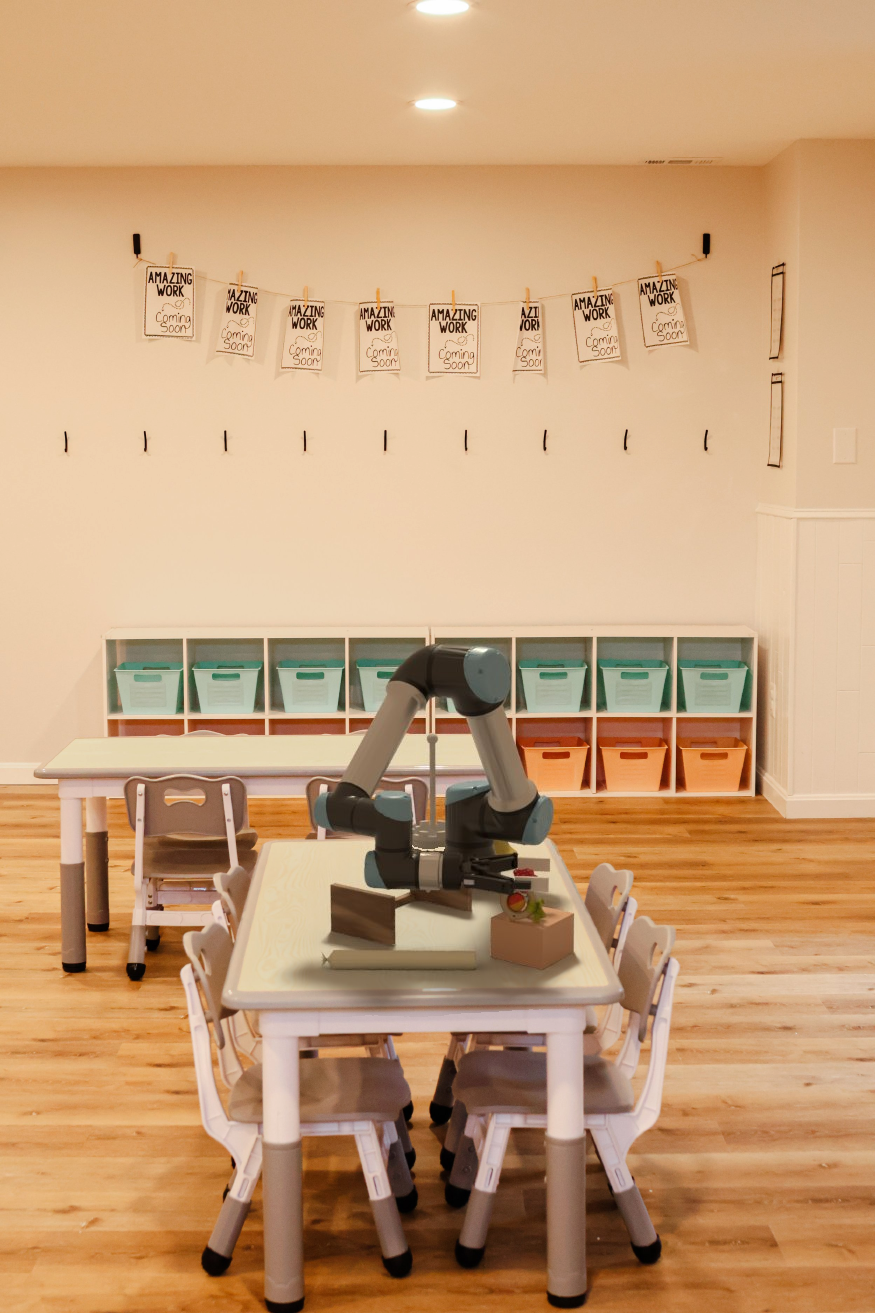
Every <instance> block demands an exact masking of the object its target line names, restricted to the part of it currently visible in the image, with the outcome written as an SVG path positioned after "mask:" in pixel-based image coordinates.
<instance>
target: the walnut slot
mask: <svg viewBox="0 0 875 1313" xmlns="http://www.w3.org/2000/svg"><path fill="white" fill-rule="evenodd" d="M329 886H330V931H331V932H334V933H338V934H343V935H347V936H350V937H354V938H358V939H362V940H364V941H365V940H367V941H370V942H374V943H377V944H382V945H386V946H390V947H391V946H394V945H396V908H398V907H400V906H403V905H405V904H407V903H410V902H412V901H415V900H417V901H422V902H426V903H430V904H434V905H439V906H443V907H448V908H453V909H457V910H461V911H465V912H469V911H471V910H473V909H472V908H473V906H472V905H473V903H472V900H473V898H472V897H473V896H472V894H473V892H472V890H473V889H472V888H464V882H463V884H462V889H461V890H460V891H445V890H443V887H441V889H440V890H431V891H430V892H426V890H414V889H409V891H408V892H406V893H404V894H401V895H399V896H395V895H391V894H387V893H381V892H376V891H372V890H368V889H364V888H359V887H355V886H351V885H346V884H341V883H337V882H334V883H331V884H330V885H329Z"/></svg>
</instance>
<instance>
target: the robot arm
mask: <svg viewBox="0 0 875 1313" xmlns="http://www.w3.org/2000/svg"><path fill="white" fill-rule="evenodd" d="M511 677H512V670H511V667H510V663H509V662H508V659H507V658H506V656H505V655H504V653H502V652H501V651H499V650H498V649H496V648H493V647H488V646H487V647H486V646H485V645H475V646H472V645H461V644H460V645H459V644H458V645H457V644H446V643H432V644H428V645H425V646H423V647H421V648H419V649H418V650H416V651H415V652H412V653H411V655H409V656H408V657H407V658H406V659H405V660H404V661H403V662H402V663H401V664H400V665H399V666H398V667H397V668H396V669H395V671H394V672H393V673H392V675H391V677H390V678H389V681H387V684H386V686H385V691H386V696H385V697H384V698H383V700H382V703H381V705H380V707H379V708H378V710H377V712H376V714H375V716H374V717H373V720H372V721H371V724H370V725H369V726H368V728H367V731H366V732H365V734H364V736H363V737H362V740H361V741H360V743H359V745H358V747H357V749H356V751H355V752H354V754H353V756H352V758H351V759H350V762H349V764H348V765H347V768H346V770H344V773H343V775H342V776H341V778H340V780H339V781H338V784H337V786H336V787H335V789H334V790H333V791H328V792H327V791H325V792H322V793H321V794H320V795H318V796H317V798H316V799H315V801H314V803H313V808H312V815H313V816H312V817H313V820H314V823H315V824H316V825H317V826H318V827H320V828H322V829H326V830H328V831H329V830H330V831H333V832H340V833H341V832H342V833H347V834H355V835H359V836H363V837H364V836H365V837H370V838H374V849H373V850H368V851H367V852H366V854H365V856H364V863H363V864H364V868H363V875H364V877H363V878H364V882H365V885H366V886H367V887H368V888H372V889H380V890H381V889H383V890H387V891H389V890H410V889H414V890H426V892H430V891H431V890H440V889H441V887H443V890H445V891H460V890H461V889H462V884H463V882H464V888H472V890H473V889H475V890H481V891H486V892H492V893H496V894H500V895H501V894H506V895H510V896H512V895H514V892H516V891H534V892H538V893H539V892H542V893H545V892H548V893H549V890H550V888H549V887H550V884H549V879H550V878H549V876H538V877H528V876H514V877H511V876H507V875H504V874H502V873H503V872H509V871H514V870H515V869H520V870H521V869H525V868H529V869H533V871H534V872H544V873H545V872H547V873H548V872H549V873H550V871H551V857H544V856H543V857H540V856H539V857H535V856H519V857H518V855H519V853H518V852H517V853H516V852H513V853H511V854H503V855H497V854H496V851H495V848H494V840H499V841H505V842H508V843H509V844H510V843H512V844H517V845H522V846H538V845H541V844H542V843H543V842H544V841H545V839H546V838H547V837H548V835H549V833H550V831H551V828H552V824H553V821H554V811H555V810H554V803H553V800H552V799H551V798H550V797H548V796H546V795H540V794H539V791H538V788H537V785H536V783H535V782H534V781H533V780H531V779H530V778H527V775H526V772H525V769H524V767H523V763H522V760H521V756H520V755H519V750H518V748H517V744H516V741H515V738H514V735H513V733H512V729H511V726H510V722H509V720H508V716H507V714H506V712H505V711H506V710H505V708H504V704H505V702H506V699H507V696H508V695H509V693H510V689H511V686H512V680H511ZM436 697H437V698H443V699H444V698H445V699H451V701H452V703H453V706H454V709H455V710H456V712H457V714H458V715H460V716H461V717H464V718H465V719H466V722H467V725H468V728H469V731H470V734H471V736H472V739H473V743H474V745H475V748H476V750H477V751H476V752H477V753H478V754H477V755H478V757H479V759H480V762H481V765H482V766H481V767H482V769H483V772H484V773H485V776H486V779H484V780H483V779H482V780H470V781H462V782H458V783H454V784H452V785H449V786H448V787H447V788H446V790H445V796H444V797H445V798H444V803H443V805H444V821H445V849H444V851H442V853H441V851H440V852H426V851H413V849H414V848H413V847H412V842H413V823H414V822H413V820H414V819H413V818H414V812H413V800H412V796H411V795H410V794H409V793H408V792H405V791H402V790H383V791H380V792H378V793H376V794H375V792H376V790H377V789H378V786H379V785H380V783H381V781H382V779H383V777H384V775H385V773H386V771H387V770H388V768H389V767H390V764H391V762H392V760H393V759H394V756H395V754H396V753H397V751H398V748H399V747H400V745H401V743H402V741H403V740H404V737H405V735H406V733H407V732H408V730H409V728H410V726H411V725H412V722H413V721H414V719H415V717H416V715H417V713H418V711H422V710H423V709H425V708H426V706H427V704H428V702H429V701H430V700H431V699H433V698H436ZM374 794H375V796H374ZM373 796H374V799H373V798H372V797H373ZM514 889H515V891H514Z"/></svg>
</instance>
